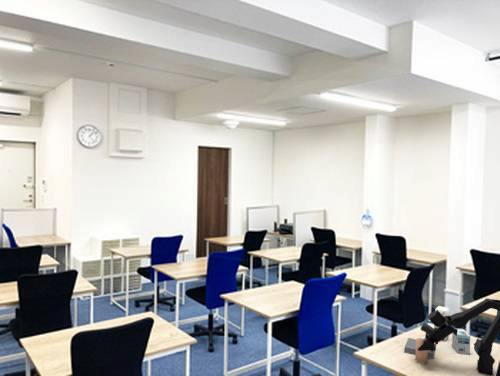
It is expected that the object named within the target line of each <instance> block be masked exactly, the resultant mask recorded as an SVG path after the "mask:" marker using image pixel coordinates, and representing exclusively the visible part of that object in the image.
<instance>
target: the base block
mask: <svg viewBox="0 0 500 376" xmlns="http://www.w3.org/2000/svg"><path fill="white" fill-rule="evenodd" d="M416 339H417V338H412V337H408V338H407V341H406V342H405V345H404V353H406V354H410V355H414V356H415V353H416ZM434 344H435V343H434ZM435 345H436V344H435ZM436 346H437V345H436ZM436 350H437V348H436V349H435V351H433V352H432V351H431V350H428V356H427V359H431V360H434V358H435V354H436Z"/></svg>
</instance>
